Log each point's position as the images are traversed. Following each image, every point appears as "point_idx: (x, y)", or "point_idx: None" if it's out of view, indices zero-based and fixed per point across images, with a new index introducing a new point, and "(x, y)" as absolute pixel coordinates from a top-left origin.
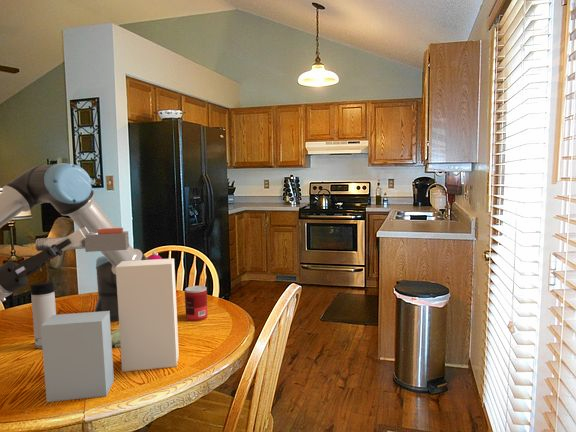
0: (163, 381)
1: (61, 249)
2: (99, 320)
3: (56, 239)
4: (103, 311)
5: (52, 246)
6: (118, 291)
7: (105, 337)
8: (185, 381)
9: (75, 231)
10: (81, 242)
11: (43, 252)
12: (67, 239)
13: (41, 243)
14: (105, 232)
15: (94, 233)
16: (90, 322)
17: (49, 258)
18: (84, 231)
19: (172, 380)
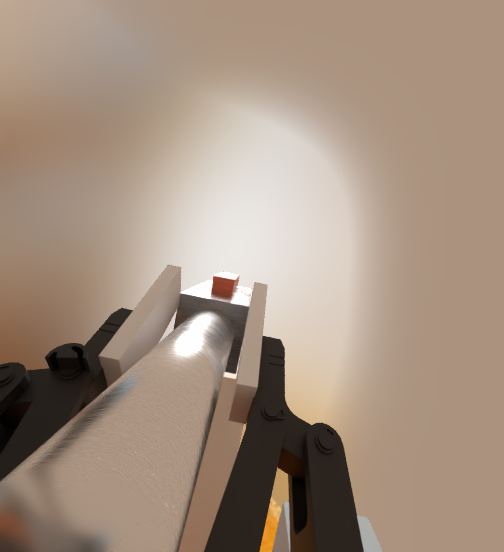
0: (269, 537)
1: (247, 413)
2: (365, 523)
3: (204, 365)
4: (287, 516)
5: (285, 421)
6: (238, 444)
7: None
8: (275, 503)
9: (265, 295)
10: (232, 340)
11: (348, 506)
12: (279, 342)
13: (193, 478)
14: (234, 289)
15: (211, 294)
16: (380, 549)
17: (304, 519)
18: (175, 287)
19: (268, 521)
